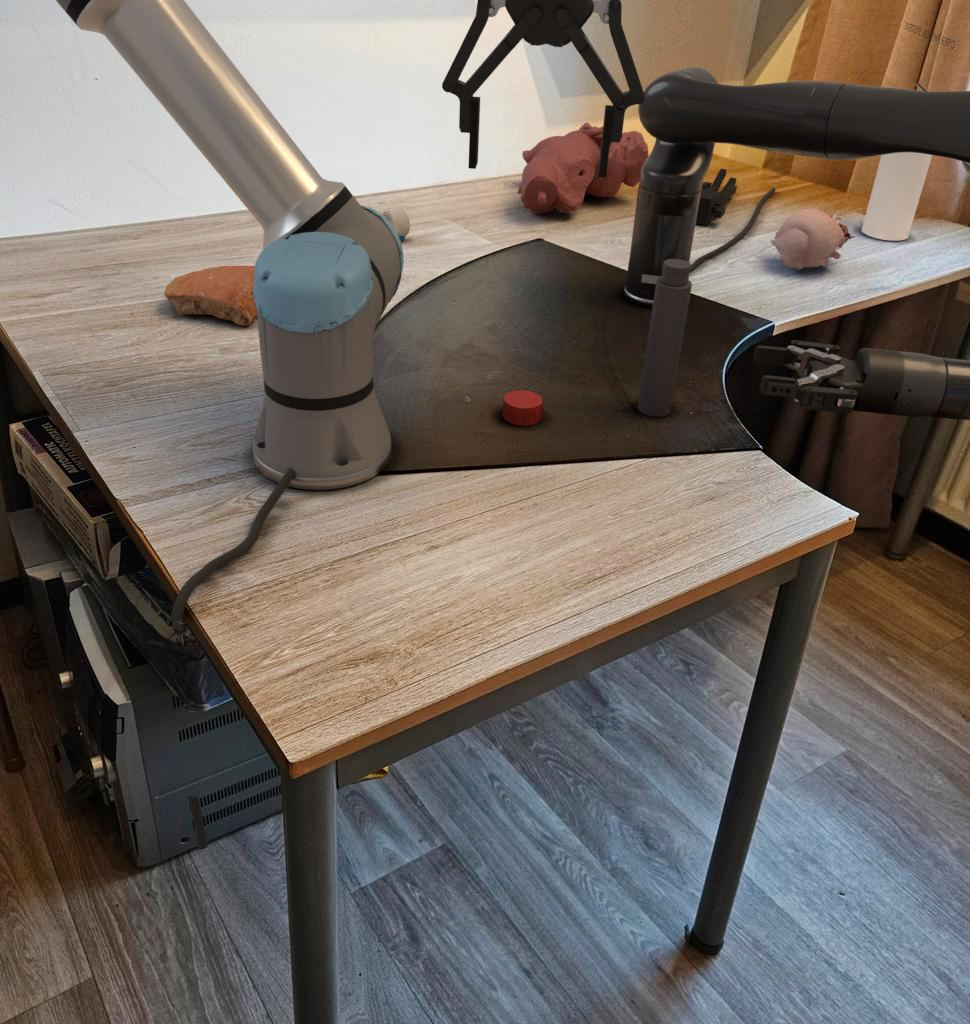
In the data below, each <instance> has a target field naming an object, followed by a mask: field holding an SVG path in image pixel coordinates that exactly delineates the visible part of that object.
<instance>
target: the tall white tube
mask: <svg viewBox="0 0 970 1024" xmlns="http://www.w3.org/2000/svg"><path fill="white" fill-rule="evenodd" d="M904 30H905V31H907V32H910V33H912V32H913V34H915V33H916V34H917V35H918V36H921V37H923V38H924V37H925V39H928V40H930V41H931V40H932V41H933V42H937V40H938V44H939V43H940V44H942V45H943V46H946V47H947V48H948V47H949V49H950V48H951V49H952V50H953V49H954V48H955V45H956V40H954V39H951V38H948V37H946V36H942V37H941V34H938V35H937V33H934V32H933V31H931V30H926V29H923V34H921V31H922V27H920V26H918V25H915V24H912V23H909V22H908V21H907V22H905V26H904ZM927 33H928V35H927ZM940 37H941V38H940ZM940 39H941V42H940ZM945 39H946V40H945ZM944 42H945V43H944ZM952 43H954V44H953V46H952ZM913 84H914V85H915V86H916V87H917V88H919V91H927V90H926V89H925V88H924V87H923V86H922V85H921V84H920V83H919V82H918V81H915V80H914V82H913ZM932 158H933V155H928V154H922V153H908V152H903V153H892V154H886V155H881V156H880V159H879V163H878V166H877V170H876V174H875V177H874V182H873V185H872V189H871V193H870V196H869V201H868V203H867V208H866V212H865V215H864V220H863V222H862V227H861V232H862V233H863V234H864V235H866V236H868V237H871V238H873V239H878V240H884V241H893V242H895V241H897V242H898V241H899V242H900V241H905V240H907V239H909V236H910V233H911V229H912V226H913V222H914V219H915V215H916V211H917V210H918V209H917V208H918V206H919V202H920V198H921V195H922V191H923V188H924V184H925V182H926V178H927V175H928V171H929V169H930V165H931V161H932Z"/></svg>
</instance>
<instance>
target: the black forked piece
mask: <svg viewBox="0 0 970 1024" xmlns="http://www.w3.org/2000/svg"><path fill="white" fill-rule="evenodd" d="M727 171H728V170H727V169H726V168H720V169H719V171H718V173H717V175H716V177H715V178H714V180H713V182H710V181H703V184H702V189H701V195H700V201H699V207H698V213H697V219H696V224H699V225H706V226H707V225H709V223H711V221H712V220H713V218H716V219H722V217H723V216H724V215H725V212H726V204H727V203H728V201H729V199H730V198H731V197H732V196H734V195H735V194H736V193H737V188H738V185H736V182H737V177H732V176H731V177H730V178H729V179H728V180H727V182H726V183H725V185H724V187H723V188H722V190H719V189H720V188H721V186H722V184H723V181H724V180H725V178H726V176H727Z"/></svg>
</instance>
